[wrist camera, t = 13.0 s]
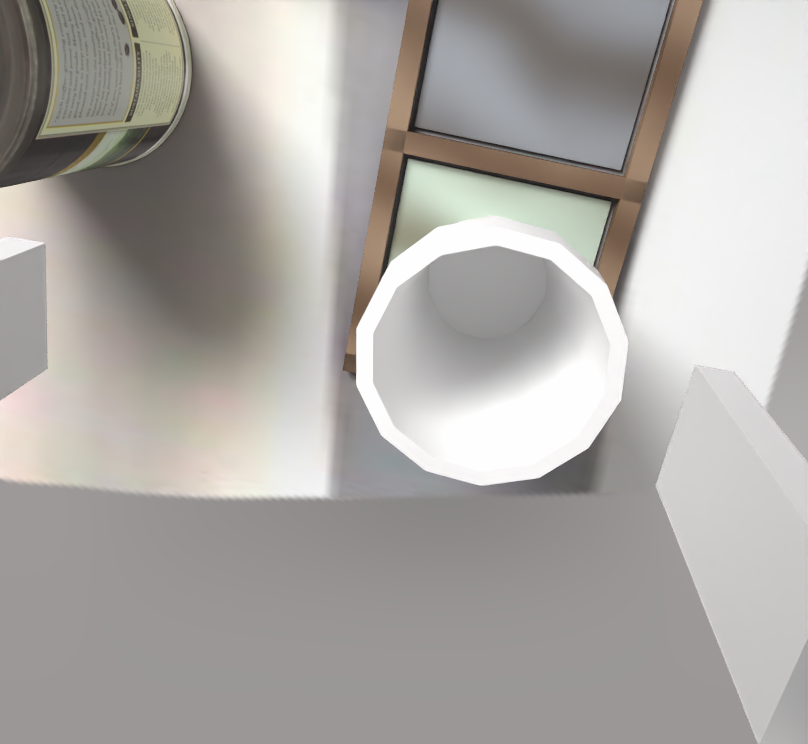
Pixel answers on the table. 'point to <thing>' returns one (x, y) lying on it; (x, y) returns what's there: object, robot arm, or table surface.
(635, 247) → the table surface
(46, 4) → the coffee can
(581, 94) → the walnut frame
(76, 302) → the table surface
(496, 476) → the foam cup
